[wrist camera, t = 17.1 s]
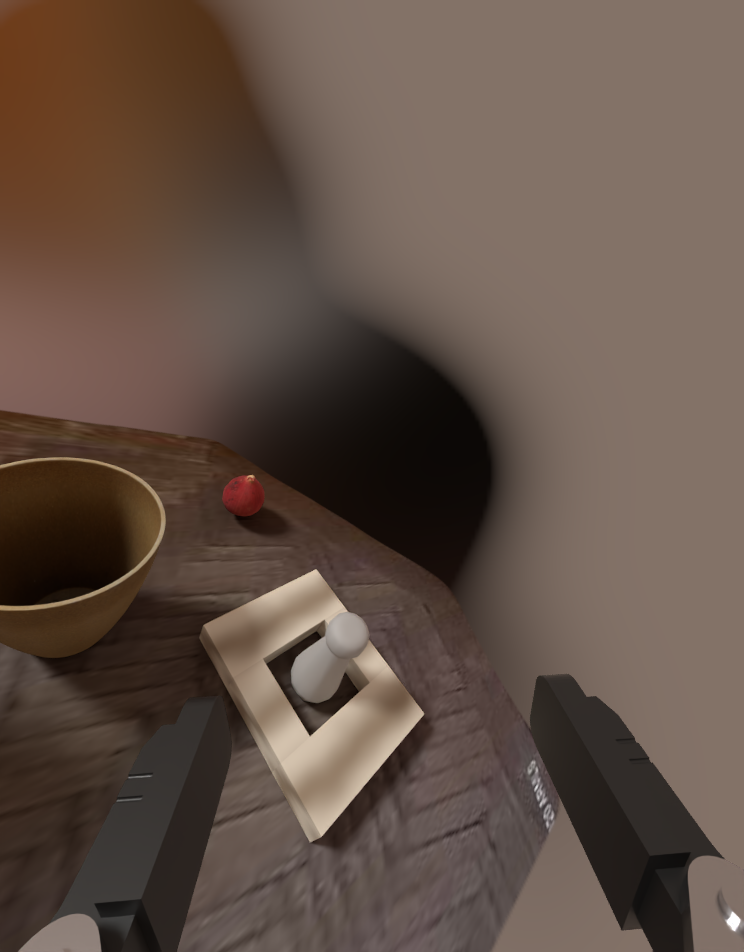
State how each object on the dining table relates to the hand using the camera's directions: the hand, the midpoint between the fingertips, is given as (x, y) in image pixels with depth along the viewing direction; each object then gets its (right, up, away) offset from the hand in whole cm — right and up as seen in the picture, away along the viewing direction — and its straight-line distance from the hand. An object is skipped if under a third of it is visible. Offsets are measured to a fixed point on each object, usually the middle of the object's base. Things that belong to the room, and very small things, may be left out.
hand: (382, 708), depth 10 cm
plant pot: (-31, -9, +29) cm, 43 cm away
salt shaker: (-8, -18, +34) cm, 40 cm away
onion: (-21, 0, +48) cm, 52 cm away
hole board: (-8, -18, +34) cm, 40 cm away
